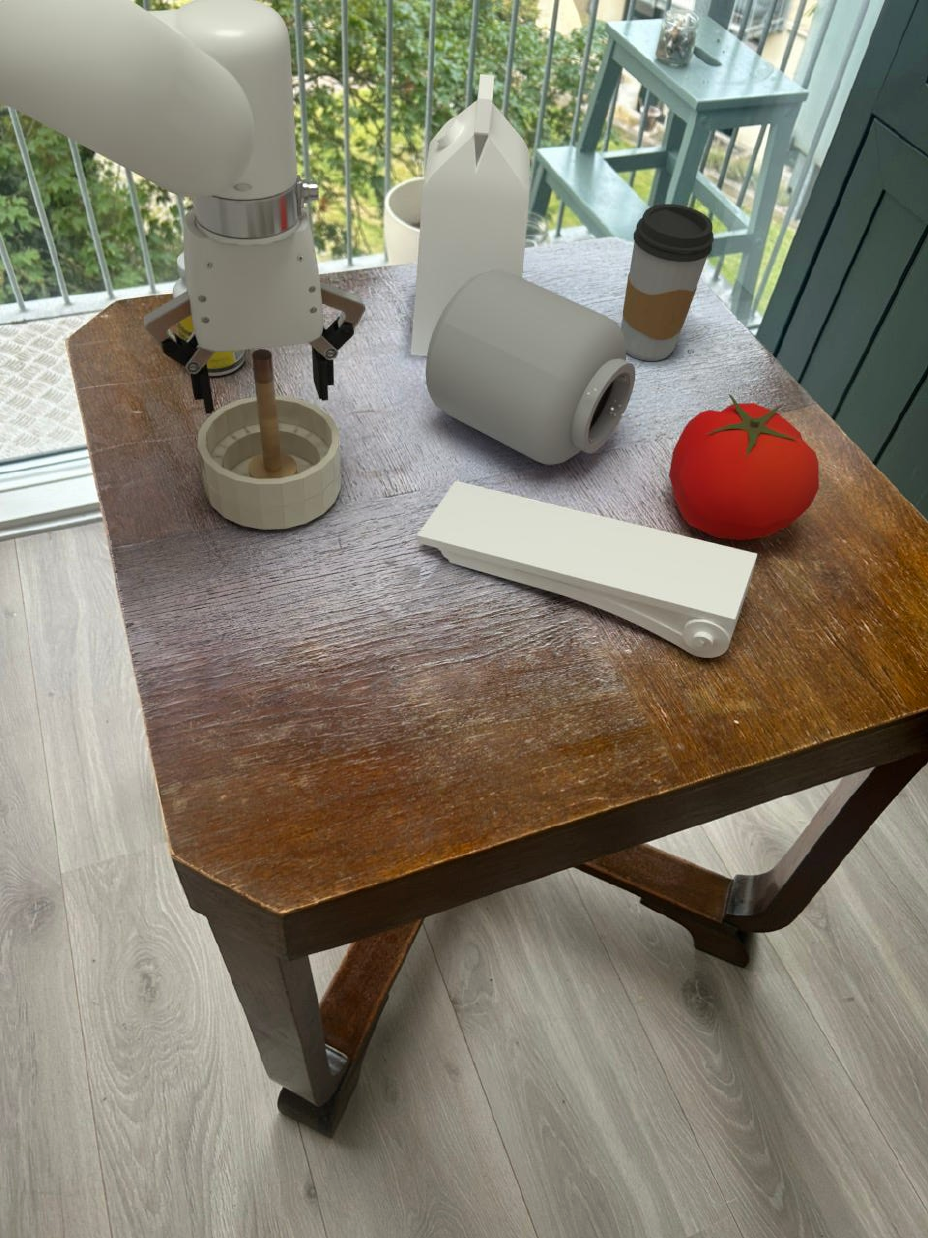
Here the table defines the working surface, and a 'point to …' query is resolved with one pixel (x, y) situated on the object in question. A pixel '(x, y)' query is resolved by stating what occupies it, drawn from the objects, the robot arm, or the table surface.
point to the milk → (469, 208)
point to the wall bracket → (598, 563)
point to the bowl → (237, 441)
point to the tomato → (742, 472)
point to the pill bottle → (219, 360)
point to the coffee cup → (663, 278)
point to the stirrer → (268, 423)
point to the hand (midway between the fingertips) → (265, 397)
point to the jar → (529, 368)
